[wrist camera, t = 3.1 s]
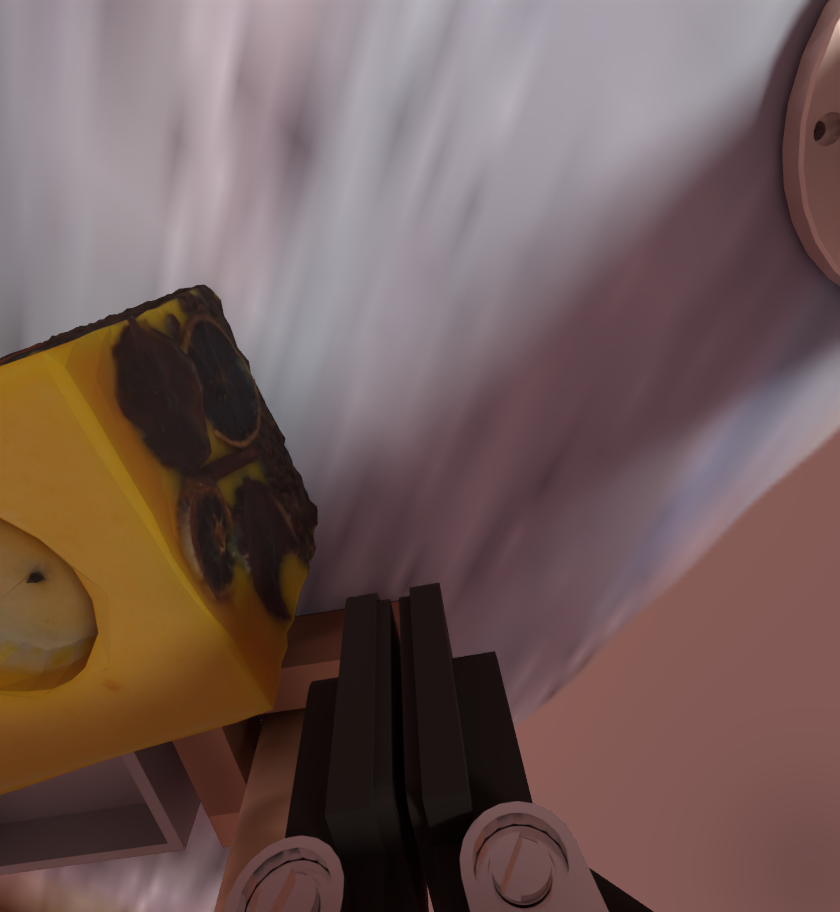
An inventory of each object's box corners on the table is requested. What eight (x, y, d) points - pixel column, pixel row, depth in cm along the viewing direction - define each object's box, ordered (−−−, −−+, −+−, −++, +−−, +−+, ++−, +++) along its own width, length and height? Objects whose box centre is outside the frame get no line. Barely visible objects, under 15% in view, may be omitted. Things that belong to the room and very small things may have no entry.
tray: (122, 621, 25) (91, 670, 22) (203, 793, 30) (184, 849, 27) (-126, 659, 25) (-184, 711, 23) (-8, 822, 30) (-46, 881, 27)
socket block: (399, 601, 25) (399, 651, 22) (433, 759, 29) (436, 818, 26) (174, 635, 25) (146, 688, 23) (239, 786, 29) (222, 847, 27)
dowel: (345, 663, 26) (308, 995, 15) (362, 725, 28) (339, 1065, 17) (259, 675, 26) (161, 1013, 16) (281, 737, 28) (207, 1081, 17)
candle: (104, 591, 24) (-71, 827, 15) (-51, 372, 20) (-412, 516, 11) (329, 520, 23) (284, 727, 14) (212, 274, 19) (46, 344, 10)
